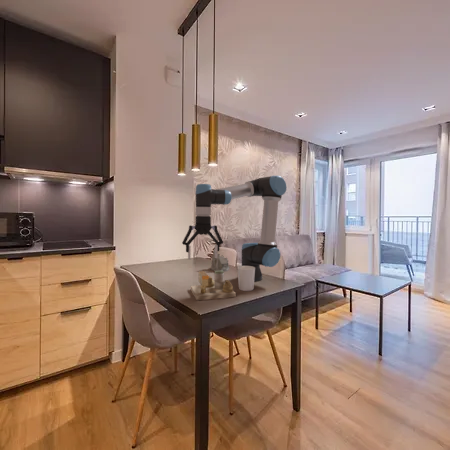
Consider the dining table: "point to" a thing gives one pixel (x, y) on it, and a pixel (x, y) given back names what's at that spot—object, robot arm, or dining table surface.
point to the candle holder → (246, 278)
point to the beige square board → (214, 288)
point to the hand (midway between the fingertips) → (202, 258)
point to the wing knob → (203, 280)
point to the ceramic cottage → (219, 263)
